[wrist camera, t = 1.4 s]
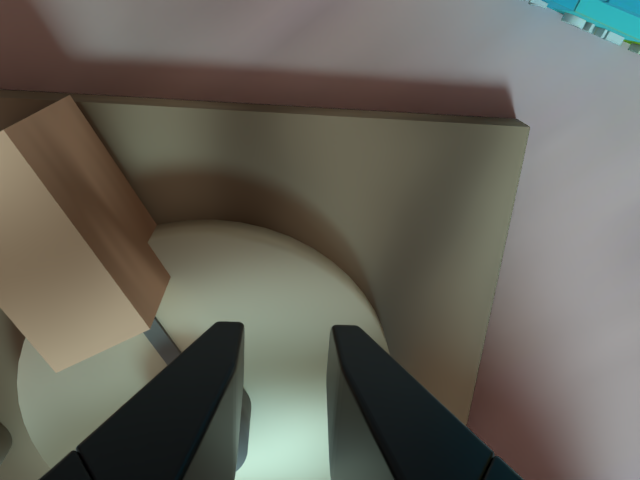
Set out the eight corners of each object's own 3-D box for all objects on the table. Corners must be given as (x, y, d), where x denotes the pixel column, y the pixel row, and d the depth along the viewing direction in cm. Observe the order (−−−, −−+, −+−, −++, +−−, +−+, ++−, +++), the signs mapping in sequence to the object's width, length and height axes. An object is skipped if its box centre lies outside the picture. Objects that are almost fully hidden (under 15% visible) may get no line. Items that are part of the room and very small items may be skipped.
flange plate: (440, 435, 23) (472, 530, 19) (161, 548, 25) (136, 657, 21) (217, 14, 17) (194, 25, 13) (-144, 210, 18) (-265, 275, 14)
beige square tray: (516, 119, 20) (604, 171, 14) (432, 536, 28) (467, 672, 22) (-102, 83, 18) (-267, 127, 13) (-2, 534, 26) (-78, 679, 21)
